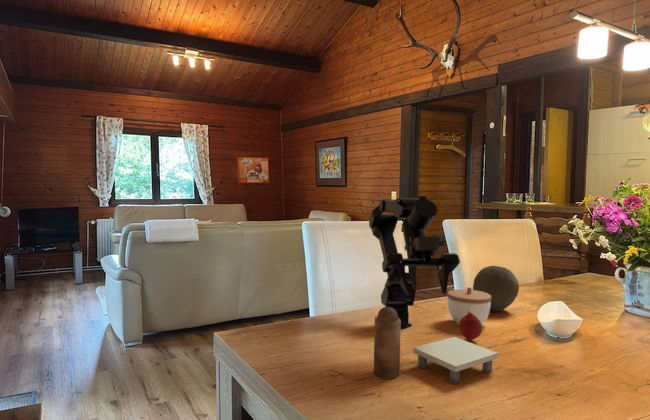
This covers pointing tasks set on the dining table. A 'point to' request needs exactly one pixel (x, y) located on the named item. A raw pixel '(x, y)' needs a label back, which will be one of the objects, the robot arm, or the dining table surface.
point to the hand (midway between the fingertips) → (426, 294)
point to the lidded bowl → (468, 304)
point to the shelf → (455, 356)
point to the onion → (470, 326)
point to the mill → (387, 344)
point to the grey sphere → (497, 286)
